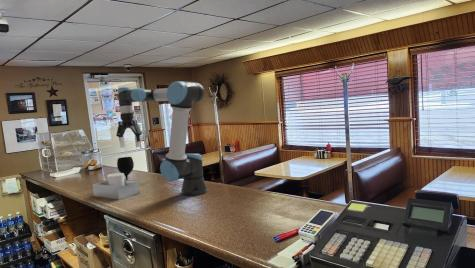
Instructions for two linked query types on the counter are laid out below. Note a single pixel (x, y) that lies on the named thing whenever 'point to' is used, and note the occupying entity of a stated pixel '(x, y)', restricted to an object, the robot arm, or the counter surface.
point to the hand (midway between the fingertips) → (130, 147)
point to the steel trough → (116, 190)
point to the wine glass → (125, 165)
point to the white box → (116, 179)
